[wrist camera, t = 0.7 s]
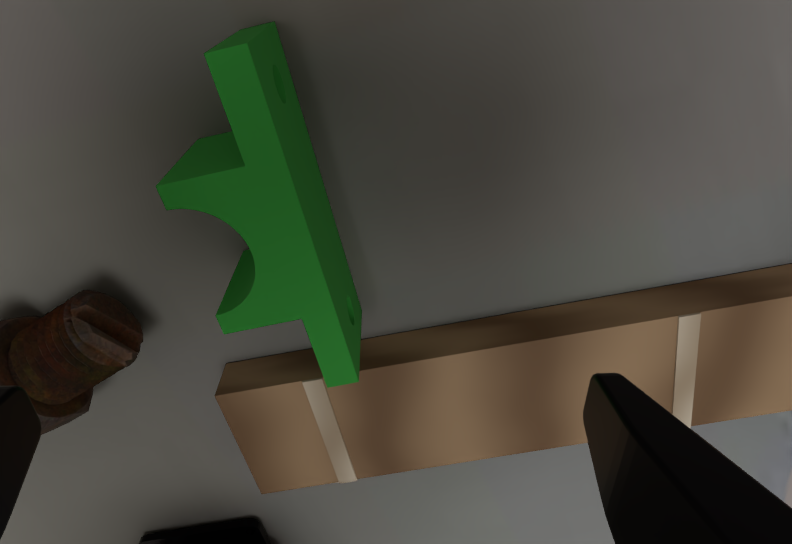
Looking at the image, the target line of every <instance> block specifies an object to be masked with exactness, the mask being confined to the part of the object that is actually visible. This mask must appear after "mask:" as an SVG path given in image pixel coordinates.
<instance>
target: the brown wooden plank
mask: <svg viewBox="0 0 792 544" xmlns="http://www.w3.org/2000/svg"><path fill="white" fill-rule="evenodd" d="M596 373H619V374H621V375H623V376H624V377H625V378H627V379H628V380H629V381H630V382H632V383H633V384H634V385H636V386H637V387H638V388H639V389H641V390H642V391H643V392H644V393H646V394H647V395H648V396H650V397H651V398H652V399H653V400H655V401H656V402H657V403H658V404H660V405H661V406H662V407H664V408H665V409H666V410H667V411H669V412H670V413H671V414H672V415H674V416H675V417H676V418H678V419H679V420H680V421H681V422H683V423H684V424H685V425H686V426H688V427H689V428H691V426H695V425H701V424H708V423H714V422H720V421H727V420H733V419H739V418H746V417H752V416H758V415H765V414H771V413H777V412H783V411H790V410H792V264H787V265H781V266H776V267H770V268H764V269H759V270H753V271H747V272H742V273H736V274H730V275H725V276H719V277H714V278H708V279H702V280H697V281H691V282H685V283H680V284H674V285H668V286H663V287H657V288H651V289H646V290H640V291H634V292H629V293H623V294H617V295H612V296H606V297H600V298H595V299H589V300H583V301H578V302H572V303H566V304H561V305H555V306H550V307H544V308H538V309H533V310H527V311H521V312H516V313H510V314H504V315H499V316H493V317H487V318H482V319H476V320H470V321H465V322H459V323H453V324H448V325H442V326H436V327H431V328H425V329H419V330H414V331H408V332H402V333H397V334H391V335H386V336H380V337H374V338H369V339H363V340H361V343H360V367H359V382H356V383H351V384H345V385H340V386H335V387H329V388H327V385H326V383H325V380H324V377H323V375H322V372H321V369H320V366H319V364H318V361H317V358H316V356H315V353H314V350H313V348H312V349H306V350H301V351H295V352H289V353H284V354H278V355H272V356H267V357H261V358H255V359H250V360H244V361H238V362H233V363H227V364H226V366H225V369H224V371H223V374H222V377H221V380H220V382H219V385H218V388H217V391H216V394H215V398H216V400H217V402H218V404H219V406H220V408H221V410H222V412H223V414H224V417H225V419H226V421H227V423H228V425H229V427H230V429H231V431H232V433H233V435H234V437H235V439H236V442H237V444H238V446H239V448H240V450H241V452H242V454H243V456H244V458H245V460H246V462H247V464H248V467H249V469H250V471H251V473H252V475H253V477H254V479H255V481H256V483H257V485H258V487H259V489H260V492H261V494H266V493H272V492H278V491H285V490H291V489H297V488H304V487H310V486H316V485H323V484H329V483H335V482H339V484H340V483H347V482H353V481H357V479H360V478H367V477H373V476H379V475H386V474H392V473H398V472H405V471H411V470H417V469H424V468H430V467H436V466H443V465H449V464H455V463H461V462H468V461H474V460H480V459H487V458H493V457H499V456H506V455H512V454H518V453H525V452H531V451H537V450H544V449H550V448H556V447H563V446H569V445H575V444H581V443H588V441H587V436H586V432H585V428H584V423H583V409H584V404H585V400H586V396H587V391H588V387H589V382H590V379H591V377H592V375H594V374H596Z"/></svg>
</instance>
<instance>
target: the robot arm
mask: <svg viewBox="0 0 792 544" xmlns="http://www.w3.org/2000/svg"><path fill="white" fill-rule="evenodd" d="M583 423H584V428H585V432H586V436H587V441H588V445H589V449H590V453H591V458H592V462H593V466H594V470H595V475H596V479H597V483H598V487H599V491H600V496H601V500H602V504H603V508H604V511H605V515H606V518H607V521H608V524H609V527H610V530H611V533H612V536H613V539H614V541H615V544H792V508H791V507H789V506H788V505H787V504H786V503H784V502H783V501H782V500H781V499H779V498H778V497H777V496H775V495H774V494H773V493H772V492H770V491H769V490H768V489H767V488H765V487H764V486H763V485H761V484H760V483H759V482H758V481H756V480H755V479H754V478H753V477H751V476H750V475H749V474H747V473H746V472H745V471H744V470H742V469H741V468H740V467H739V466H737V465H736V464H735V463H733V462H732V461H731V460H730V459H728V458H727V457H726V456H725V455H723V454H722V453H721V452H720V451H718V450H717V449H716V448H714V447H713V446H712V445H711V444H709V443H708V442H707V441H706V440H704V439H703V438H702V437H700V436H699V435H698V434H697V433H695V432H694V431H693V430H692V429H690V428H689V427H688V426H686V425H685V424H684V423H683V422H681V421H680V420H679V419H678V418H676V417H675V416H674V415H672V414H671V413H670V412H669V411H667V410H666V409H665V408H664V407H662V406H661V405H660V404H658V403H657V402H656V401H655V400H653V399H652V398H651V397H650V396H648V395H647V394H646V393H644V392H643V391H642V390H641V389H639V388H638V387H637V386H636V385H634V384H633V383H632V382H630V381H629V380H628V379H627V378H625V377H624V376H623V375H621V374H619V373H596V374H594V375H592V377H591V379H590V382H589V387H588V391H587V396H586V400H585V404H584V409H583ZM41 431H42V426H41V421H40V419H39V417H38V415H37V413H36V411H35V408H34V406H33V404H32V402H31V400H30V398H29V396H28V394H27V392H26V391H25V389H23V388H22V387H21V386H0V539H1V537H2V535H3V533H4V530H5V528H6V526H7V523H8V521H9V519H10V516H11V514H12V511H13V508H14V506H15V503H16V501H17V498H18V495H19V493H20V490H21V487H22V485H23V482H24V479H25V477H26V474H27V471H28V469H29V466H30V463H31V461H32V458H33V455H34V453H35V450H36V448H37V445H38V442H39V440H40V436H41ZM139 544H271V543H270V541H269V539H268V537H267V535H266V533H265V531H264V529H263V527H262V525H261V523H260V522H259V521H258V520H256V519H244V520H238V521H231V522H225V523H218V524H212V525H205V526H199V527H192V528H186V529H180V530H173V531H167V532H160V533H154V534H147V535H144V536H143V537H141V540H140V543H139Z"/></svg>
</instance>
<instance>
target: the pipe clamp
mask: <svg viewBox="0 0 792 544" xmlns="http://www.w3.org/2000/svg"><path fill="white" fill-rule="evenodd" d="M204 56H205V58H206V61H207V64H208V67H209V69H210V72H211V75H212V77H213V80H214V83H215V85H216V88H217V91H218V94H219V96H220V99H221V102H222V104H223V107H224V110H225V112H226V115H227V118H228V121H229V123H230V126H231V129H232V131H231V132H226V133H222V134H218V135H213V136H209V137H205V138H200V139H198V140H197V141H196V142H195V143H194V144H193V145H192V146H191V148H190V149H189V150H188V151H187V152H186V153H185V154H184V155H183V156H182V158H181V159H180V160H179V161H178V162H177V163H176V164H175V165H174V166H173V167H172V169H171V170H170V171H169V172H168V173H167V174H166V175H165V176H164V177H163V179H162V180H161V181H160V182H159V183H158V184H157V185H156V188H157V191H158V193H159V195H160V197H161V199H162V201H163V204H164V206H165V208H166V210H172V209H191V210H197V211H201V212H205V213H208V214H210V215H213V216H215V217H217V218H219V219H221V220H223V221H224V222H226V223H227V224H229V225H230V226H231V227H232V228H234V229H235V230H236V231H237V232H238V233H239V234H240V235H241V237H242V238H243V239H244V240H245V242H246V243H247V245H248V247H249V250H245V251H243V253H242V255H241V258H240V260H239V262H238V265H237V267H236V269H235V272H234V274H233V276H232V279H231V281H230V283H229V286H228V288H227V290H226V293H225V295H224V297H223V300H222V302H221V304H220V306H219V309H218V311H217V313H216V318H217V320H218V322H219V324H220V327H221V329H222V331H223V333H224V334H228V333H233V332H238V331H243V330H248V329H253V328H258V327H263V326H268V325H273V324H278V323H283V322H288V321H293V320H298V319H302V321H303V323H304V326H305V329H306V331H307V334H308V337H309V339H310V342H311V345H312V348H313V350H314V353H315V356H316V358H317V361H318V364H319V366H320V369H321V372H322V375H323V377H324V380H325V383H326V385H327V388H329V387H335V386H340V385H345V384H351V383H356V382H359V367H360V343H361V319H362V310H361V306H360V303H359V300H358V297H357V293H356V290H355V287H354V283H353V280H352V277H351V273H350V270H349V267H348V263H347V260H346V257H345V253H344V250H343V247H342V243H341V240H340V237H339V234H338V230H337V227H336V224H335V220H334V217H333V214H332V210H331V207H330V204H329V200H328V197H327V194H326V190H325V187H324V184H323V180H322V177H321V174H320V171H319V167H318V164H317V161H316V157H315V154H314V151H313V147H312V144H311V141H310V137H309V134H308V131H307V127H306V124H305V121H304V117H303V114H302V111H301V108H300V104H299V101H298V98H297V94H296V91H295V88H294V84H293V81H292V78H291V74H290V71H289V68H288V64H287V61H286V58H285V55H284V51H283V48H282V45H281V41H280V38H279V35H278V31H277V28H276V25H275V21H274V22H270V23H266V24H262V25H258V26H253V27H249V28H245V29H241V30H239V31H238V32H236V33H235V34H233V35H231V36H230V37H228V38H227V39H225V40H224V41H222V42H221V43H219V44H218V45H216V46H215V47H213V48H211V49H210V50H208V51H207V52H205V53H204Z"/></svg>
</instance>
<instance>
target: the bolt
mask: <svg viewBox="0 0 792 544" xmlns="http://www.w3.org/2000/svg"><path fill="white" fill-rule="evenodd" d="M142 342H143V332H142V328H141V324H140V323H139V322H138V320H137V319H136V318H135V317H134V315H133V314H132V313H131V312H130V311H129V310H128V309H127V308H126V307H125V306H124V305H123V304H122V303H121V302H120V301H118V300H116V299H114V298H112V297H110V296H108V295H106V294H103V293H101V292H97V291H92V290H83V291H81V292H79V293H78V294H77V295H75V296H73V297H71V298H70V299H69V300H67V301H66V302H65V303H64V304H62V305H60V306H58V307H57V308H55V309H54V310H53V311H51V312H49V313H47V314H46V315H45V316H44V317H42V318H40V317H37V316H27V317H18V318H13V319H8V320H3V321H0V386H21V387H22V388H23V389H25V391H26V392H27V394H28V396H29V398H30V400H31V402H32V404H33V406H34V408H35V411H36V413H37V415H38V417H39V419H40V421H41V426H42V431H41V435H42V434H44V433H47V432H49V431H51V430H54V429H56V428H58V427H60V426H62V425H64V424H67V423H69V422H70V421H72V420H74V419H76V418H77V417H79V416H81V415H82V414H84V413H86V412H87V411H89V407H90V403H91V399H92V395H93V387H94V386H95V385H97V384H98V383H100V382H101V381H103V380H105V379H106V378H108V377H110V376H112V375H113V374H115V373H116V372H117V371H119V370H121V369H123V368H125V367H127V366H129V365H130V364H132V363H133V362H134V361H135V359H136V358H137V355H138V353H139V351H140V344H141V343H142ZM137 352H138V353H137Z"/></svg>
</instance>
